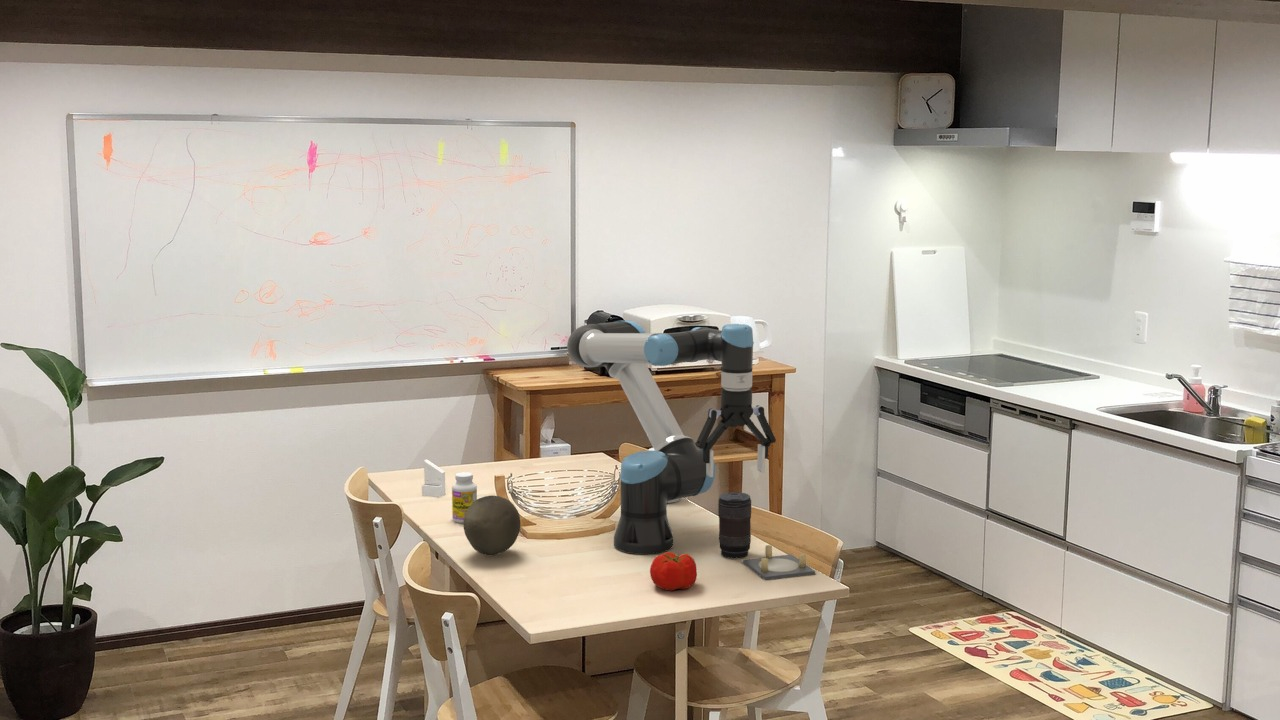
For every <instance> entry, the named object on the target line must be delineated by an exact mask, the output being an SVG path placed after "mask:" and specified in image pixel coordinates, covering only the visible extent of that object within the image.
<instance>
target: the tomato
mask: <svg viewBox="0 0 1280 720" xmlns="http://www.w3.org/2000/svg"><path fill="white" fill-rule="evenodd" d="M649 574H650V578H651V581H652V583H653V584H654V585H655V586H657V587H659V588H661V589H663V590H666V591H675V590H678V589H679V590H685V589H686V590H687V589H689V588H690V587H692V586H693V585H694V584H695V583H696V580H697V576H698V572H697V563H696V562H695V559H694V558H693V557H692V556H691V555H689V554H688V553H683V554H681V555H677V554H676V553H675V552H672V551H664V552H661V554H659V555H657V556H656V557H654V559H653V561H652V563H651V565H650V567H649Z"/></svg>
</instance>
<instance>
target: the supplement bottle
mask: <svg viewBox="0 0 1280 720" xmlns="http://www.w3.org/2000/svg"><path fill="white" fill-rule="evenodd" d="M454 477H455V480H456V481H455V482H454V483H453V484H452V487H451V497H452V498H451V501H452V502H451V504H452V505H451V508H452V511H451V512H452V514H451V515H452V521H454V522H455V523H458V524H459V523H460V524H463V522H464V516H465V514H466V511H467V510H468V508H469V507H470V505H471V504H472V503H473V502H474V501H476V500H477V499H478V486H477V484H476V482H474V481H473V479H474V475H473V473H472V472H470V471H469V472H468V471H463V472H456V474H455V475H454Z"/></svg>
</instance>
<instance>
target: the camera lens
mask: <svg viewBox="0 0 1280 720" xmlns="http://www.w3.org/2000/svg"><path fill="white" fill-rule="evenodd" d="M718 498H719V499H718V501H717V502H718V504H717V505H718V506H717V507H718V518H719V520H718V522H719V523H718V543H719V544H718V545H719V550H720V555H721V556H723V557H725V558H728V559H735V560H737V559H745V558H747V557H748V556H749V551H750V549H751V541H752V538H751V537H752V536H751V535H752V533H751V527H752V526H751V518H752V499H751V496H750V494H748V493H744V492H739V491H737V492H735V491H733V492H732V491H731V492H725V493H722V494H720V495H719V497H718Z"/></svg>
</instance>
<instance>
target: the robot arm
mask: <svg viewBox="0 0 1280 720" xmlns="http://www.w3.org/2000/svg"><path fill="white" fill-rule="evenodd" d="M754 343H755V342H754V333H753V328H752V326H751V325H748V324H746V323H745V324H744V323H743V324H742V323H740V324H739V323H730V324H729V323H728V324H724V325H723V326H722V327H721V329H714V328H709V326H708V327H707V326H703V327H702V326H701V327H700V326H698V327H697V326H696V327H694V328H692V329H691V330H686V331H680V332H668V333H667V332H660V333H659V332H657V333H656V332H655V333H652V332H651V333H648V332H646V330H645V329H644V328H643V327H642V326H641V325H640V324H639V323H638V322H635V321H632V320H615V321H612V322H610V321H609V322H601V323H589V324H585V325H581V326H580V327H579V326H578V327H577V328H575V330H573V331H572V333H570V335H569V337H568V340H567V345H566V347H567V353H568V356H569V358H570V359H571V360H572V362H573V363H575V364H576V365H577V366H580V367H584V368H599V367H600V368H601V367H604V368H605V369H606V371H607V372H608V375H609V377H610V378H613V379H617V380H618V382H619V384H620V386H621V387H622V388H621V389H622V390H623V392H624V394H625V395H626V397H627V399H628V401H629V403H630V406H632V409H633V411H634V413H635V415H636V417H637V419H638V420H639V423H640V425H641V426H642V427H641V428H643V430H644V432H645V434H646V436H647V438H648V440H649V442H650V444H651V446H652V448H654V450H655V451H648V450H647V451H645V450H641V451H638V452H637V451H636V452H633V453H632V454H631V453H630V454H629V455H627V456H626V457H624V458H623V459H622V460H621V464H620V473H619V480H620V517H619V520H618V523H617V526H616V529H615V532H614V535H613V547H614V548H615V549H616V550H618V551H620V552H624V553H629V554H634V555H635V554H636V555H652V554H653V555H654V554H659V553H665V552H668V551H669V550H671V549H672V548H673V547H674V534H673V532H672V528H671V526H670V522H669V519H668V515H667V511H668V510H667V509H668V508H667V507H668V506H667V504H668V503H667V501H670V500H675V499H680V500H681V499H684V498H688V497H696V496H699V495H700V494H703V493H706V492H708V491H709V490H710V489H711V488H712V486H713V484H714V482H715V479H716V463H715V460H714V457H715V456H714V452H715V451H714V450H713V449H712V448H713V446H714V445H715V444H716V443H717V442H718V440H719V439H720V438H721V436H722V435H723V434H724V433H725V431H726V430H727V429H729V427H731V428H735V427H744V426H746V427H747V428H748V429H749V430H750V432H751V433H752V434H753V435H754V437H755V438H756V439H757V440H758V442H759V443H760V444H758V443H757V461H756V463H757V467H756V468H757V471H758V472H760V473H761V474H762V473H765V468H766V459H768V457H769V447H770V446H771V444H774V443H776V441H777V439H776V437H775V435H774V433H773V431H772V428H771V426H770V424H769V423H768V420H767V418H766V415H765V408H764V407H763V406H761V405H759V404H757V405H756V406H754V407H753V405H752V404H753V390H752V389H751V388H752V387H753V359H754V357H753V356H754V352H753V351H754ZM705 360H707V361H708V360H711V361H718V362H721V373H720V374H721V376H720V377H721V379H720V387H722V389H721V390H720V409H713V408H709V409H708V412H707V418H706V421H705V423H704V425H703V426H702V429H701V431H700V433H699V436H698V437H697V440H696V441H694V440H693V438H692V437H690V436H687V435H684V433H683V430H682V429H681V427H680V425H679V423H678V422H677V419H676V417H675V416H674V414H673V412H672V410H671V409H670V406H669V405H668V404H667V403H668V402H667V401H666V400H665V397H664V395H663V394H662V392H661V389H660V388H659V386H658V384H657V382H656V380H655V379H654V377H653V375H652V373H651V371H650V369H649V367H648V365H647V364H650V365H651V366H655V367H659V366H660V367H666V366H670V365H676V364H683V363H692V362H697V361H698V362H699V361H705ZM753 413H754V414H753ZM752 415H755V416H756V418H757V421H758V422H759V425H760V426H761V428H762V431H763V433H764V434H763V433H762V432H761V431H760V429H758V427H757V426H756V425H755V423H754V422H753V421H752V419H751V417H752ZM719 416H720V417H721V419H720V420H719V422H718V423H717V426H716V427H715V428H714V426H715V424H716V421H717V419H718V418H719ZM713 428H714V430H713Z"/></svg>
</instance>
